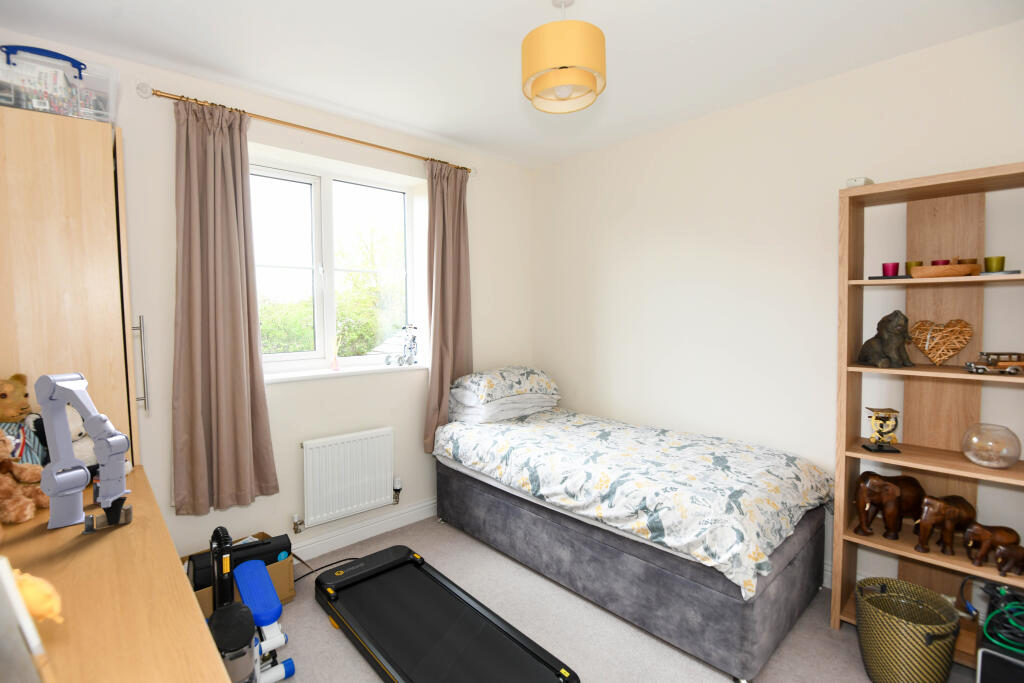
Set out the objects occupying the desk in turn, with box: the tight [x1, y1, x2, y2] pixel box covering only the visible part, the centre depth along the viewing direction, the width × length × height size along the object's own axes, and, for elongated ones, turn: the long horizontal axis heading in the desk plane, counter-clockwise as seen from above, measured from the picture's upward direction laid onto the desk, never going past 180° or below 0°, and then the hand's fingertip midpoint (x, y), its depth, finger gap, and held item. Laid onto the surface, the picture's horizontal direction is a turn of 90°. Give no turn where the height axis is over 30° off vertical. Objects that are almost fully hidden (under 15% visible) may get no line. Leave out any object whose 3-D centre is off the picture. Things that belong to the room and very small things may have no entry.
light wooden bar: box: [95, 507, 132, 530], centre depth 141 cm, size 8×2×4 cm, turn 138°
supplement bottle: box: [92, 467, 101, 506], centre depth 160 cm, size 6×6×11 cm
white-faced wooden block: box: [122, 504, 133, 521], centre depth 145 cm, size 2×3×4 cm, turn 131°
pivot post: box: [81, 514, 98, 535], centre depth 137 cm, size 3×3×4 cm
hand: (114, 524), depth 140 cm, fingers closed
